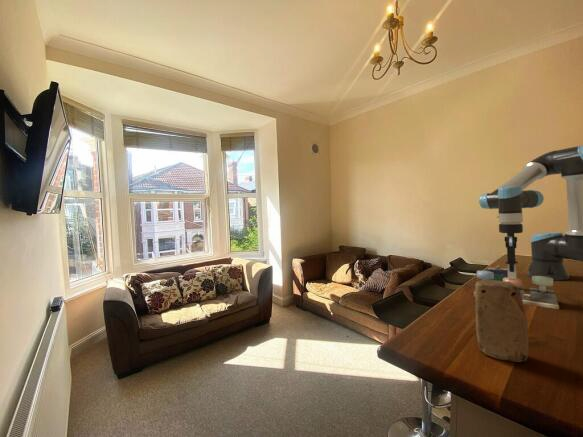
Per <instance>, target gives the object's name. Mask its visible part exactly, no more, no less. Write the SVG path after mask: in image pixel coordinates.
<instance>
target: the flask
mask: <svg viewBox="0 0 583 437" xmlns="http://www.w3.org/2000/svg"><path fill="white" fill-rule="evenodd" d="M501 267H502V266H500V265H496V267H488V268H486V270H485V271H491V272H493V273H494V279H492V280H496V281H501V282H503V278H508V270H507V268H501Z"/></svg>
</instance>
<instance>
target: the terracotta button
mask: <svg viewBox="0 0 583 437" xmlns="http://www.w3.org/2000/svg"><path fill="white" fill-rule="evenodd" d="M504 281H506V282H510V283H512V284H514V285H515V286H517V287H518V288H519V287H523V280H522V279H521V278H517V277H516V280H513V279H508V278H503V282H504Z"/></svg>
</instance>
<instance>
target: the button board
mask: <svg viewBox="0 0 583 437" xmlns="http://www.w3.org/2000/svg"><path fill="white" fill-rule="evenodd" d="M477 282H478V281H476V283H477ZM476 283H475V285H474V292H473V297H474V298H475V291H476ZM524 288H525V287H524V286H522V287H519V291H520V293H521V296H522V300H523V305H526V306H527V305H529V306H534V307H535V306H536V307H540V308H547V309H553V310H560V305H559V303H558V300H557V295H556V292H555V290H553V289H552V290H551V289H550V290H549V289H546V293H541V292H539V288H535V287H530V288H529V293H530V294H528V293H527V294H525V290H524Z"/></svg>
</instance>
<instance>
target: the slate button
mask: <svg viewBox="0 0 583 437" xmlns="http://www.w3.org/2000/svg"><path fill="white" fill-rule="evenodd" d="M476 278H477V279H480V280H492V279H494V273H493V272H491V271H486V270H477V271H476Z"/></svg>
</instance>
